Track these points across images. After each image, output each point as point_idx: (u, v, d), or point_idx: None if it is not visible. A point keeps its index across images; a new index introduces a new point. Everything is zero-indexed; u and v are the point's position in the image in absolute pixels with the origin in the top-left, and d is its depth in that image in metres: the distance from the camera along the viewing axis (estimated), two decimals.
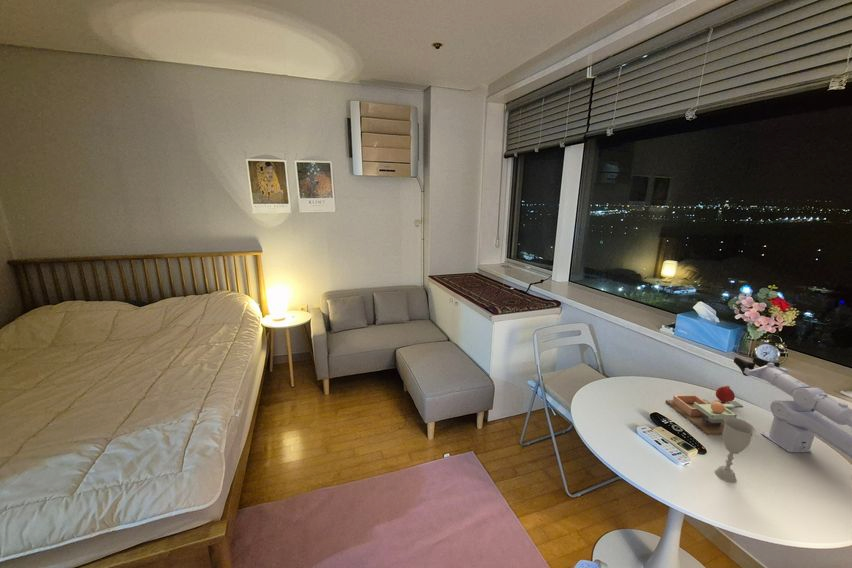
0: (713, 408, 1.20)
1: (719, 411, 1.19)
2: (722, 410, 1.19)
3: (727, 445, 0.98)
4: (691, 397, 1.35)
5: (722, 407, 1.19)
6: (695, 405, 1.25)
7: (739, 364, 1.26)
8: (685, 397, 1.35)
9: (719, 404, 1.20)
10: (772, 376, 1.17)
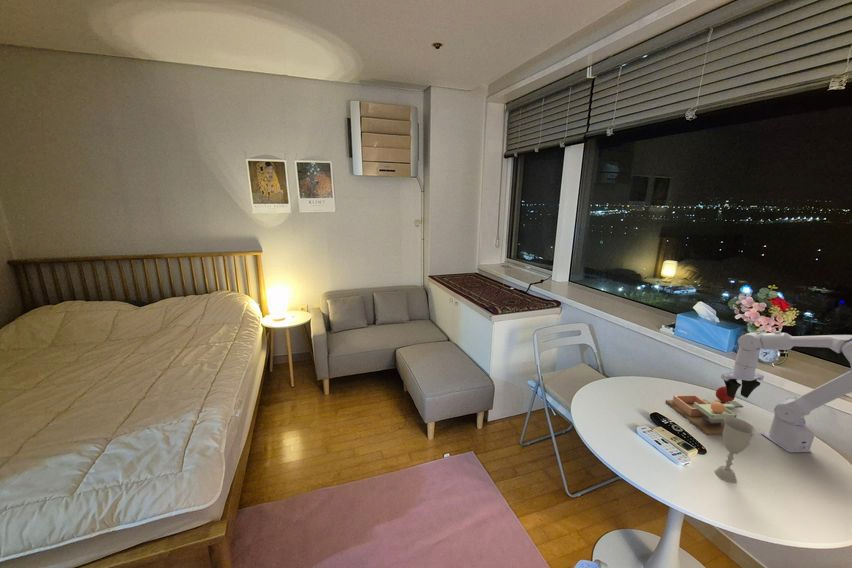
0: (713, 408, 1.20)
1: (719, 411, 1.19)
2: (722, 410, 1.19)
3: (727, 445, 0.98)
4: (691, 397, 1.35)
5: (722, 407, 1.19)
6: (695, 405, 1.25)
7: (731, 391, 1.24)
8: (685, 397, 1.35)
9: (719, 404, 1.20)
10: (735, 365, 1.23)
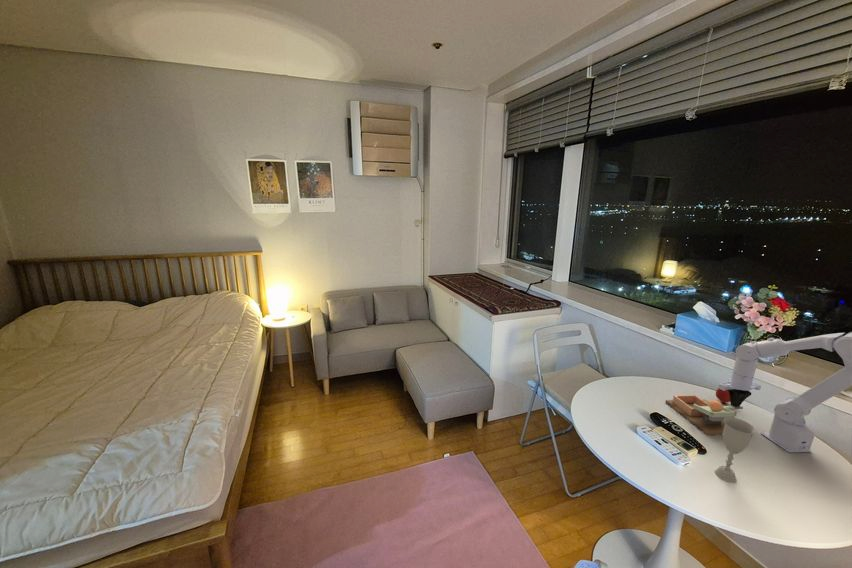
0: (711, 406, 1.21)
1: (718, 408, 1.20)
2: (720, 407, 1.20)
3: (727, 445, 0.98)
4: (691, 397, 1.35)
5: (719, 404, 1.20)
6: (695, 406, 1.25)
7: (735, 400, 1.25)
8: (685, 397, 1.35)
9: (716, 401, 1.21)
10: (733, 375, 1.24)
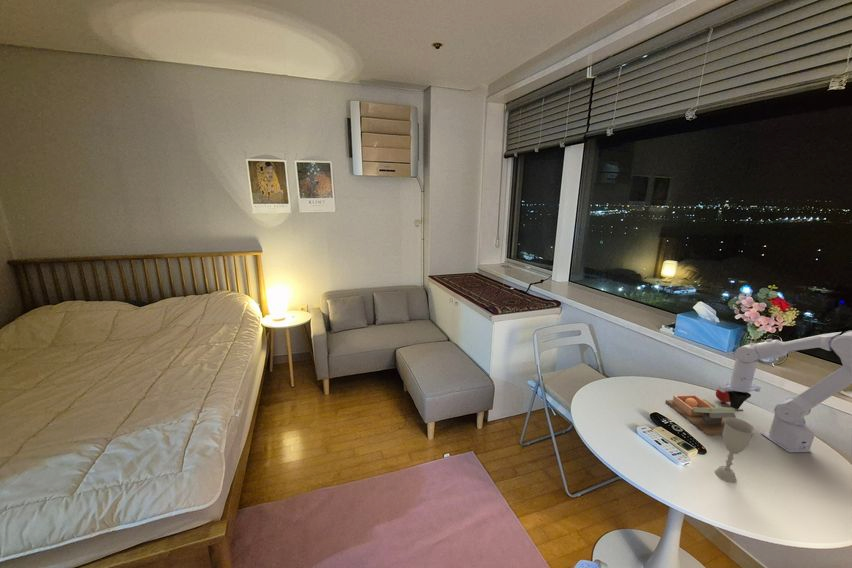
0: (687, 404, 1.32)
1: (692, 407, 1.31)
2: (695, 406, 1.30)
3: (727, 445, 0.98)
4: (691, 397, 1.35)
5: (694, 404, 1.30)
6: (695, 409, 1.25)
7: (735, 402, 1.26)
8: (685, 397, 1.35)
9: (693, 401, 1.31)
10: (732, 376, 1.25)
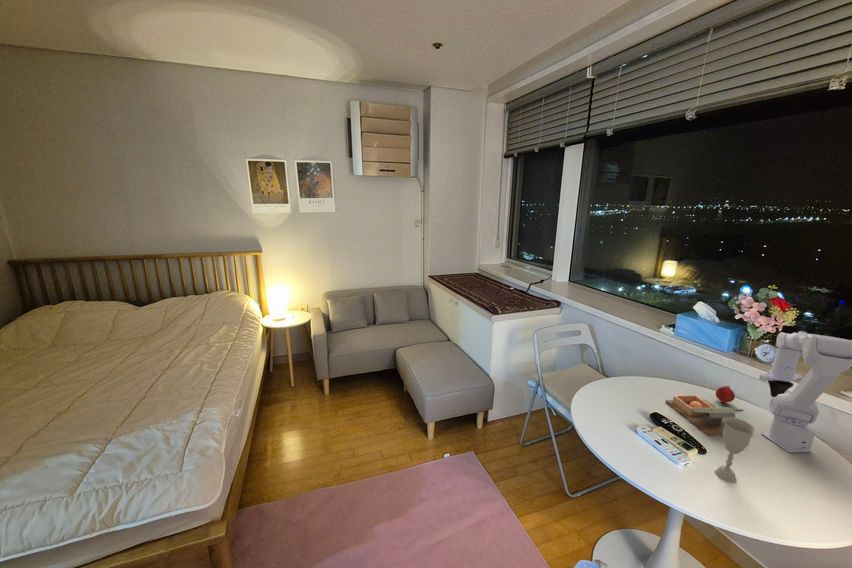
0: (691, 407, 1.30)
1: None
2: None
3: (727, 445, 0.98)
4: (691, 397, 1.35)
5: None
6: (695, 409, 1.25)
7: (776, 392, 1.24)
8: (685, 397, 1.35)
9: None
10: (774, 366, 1.23)
